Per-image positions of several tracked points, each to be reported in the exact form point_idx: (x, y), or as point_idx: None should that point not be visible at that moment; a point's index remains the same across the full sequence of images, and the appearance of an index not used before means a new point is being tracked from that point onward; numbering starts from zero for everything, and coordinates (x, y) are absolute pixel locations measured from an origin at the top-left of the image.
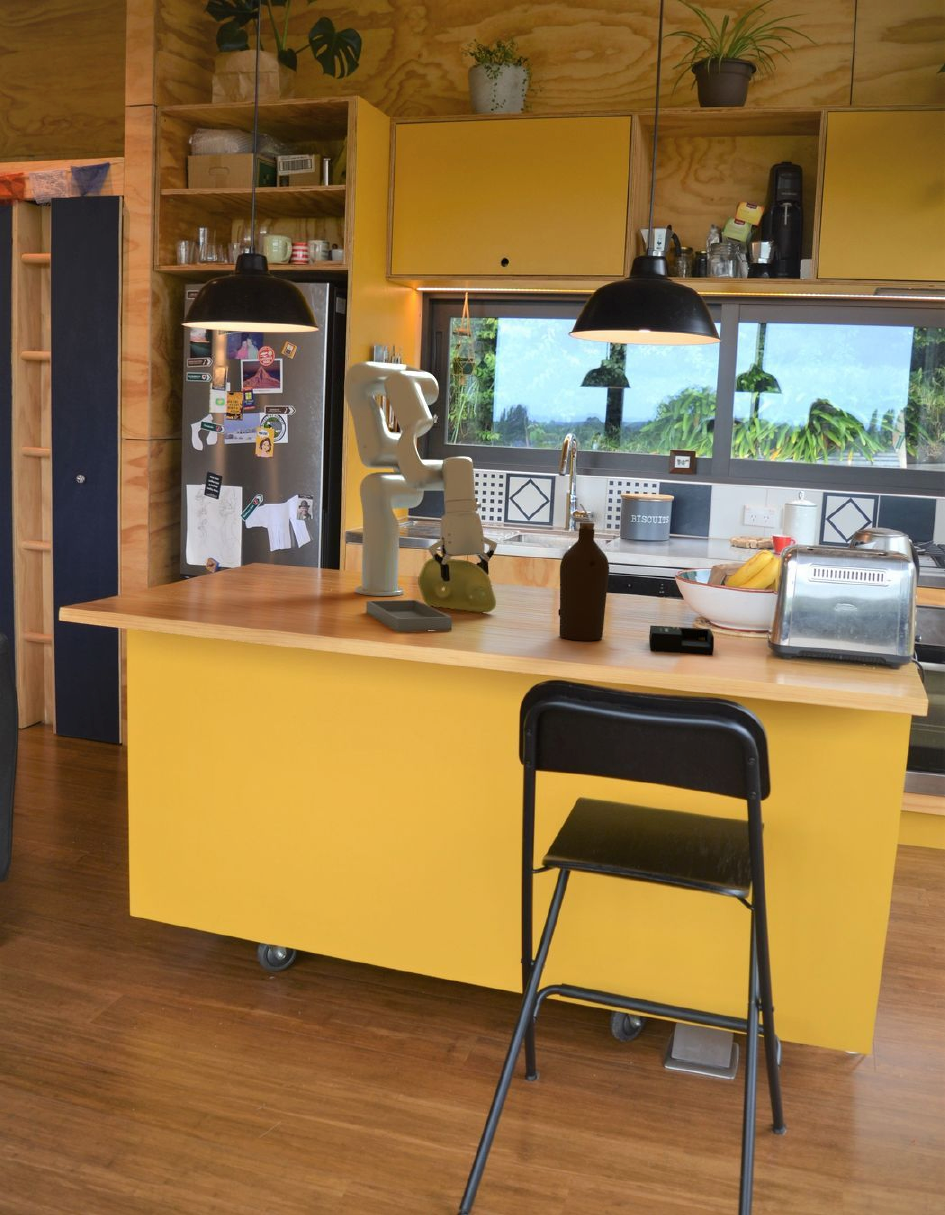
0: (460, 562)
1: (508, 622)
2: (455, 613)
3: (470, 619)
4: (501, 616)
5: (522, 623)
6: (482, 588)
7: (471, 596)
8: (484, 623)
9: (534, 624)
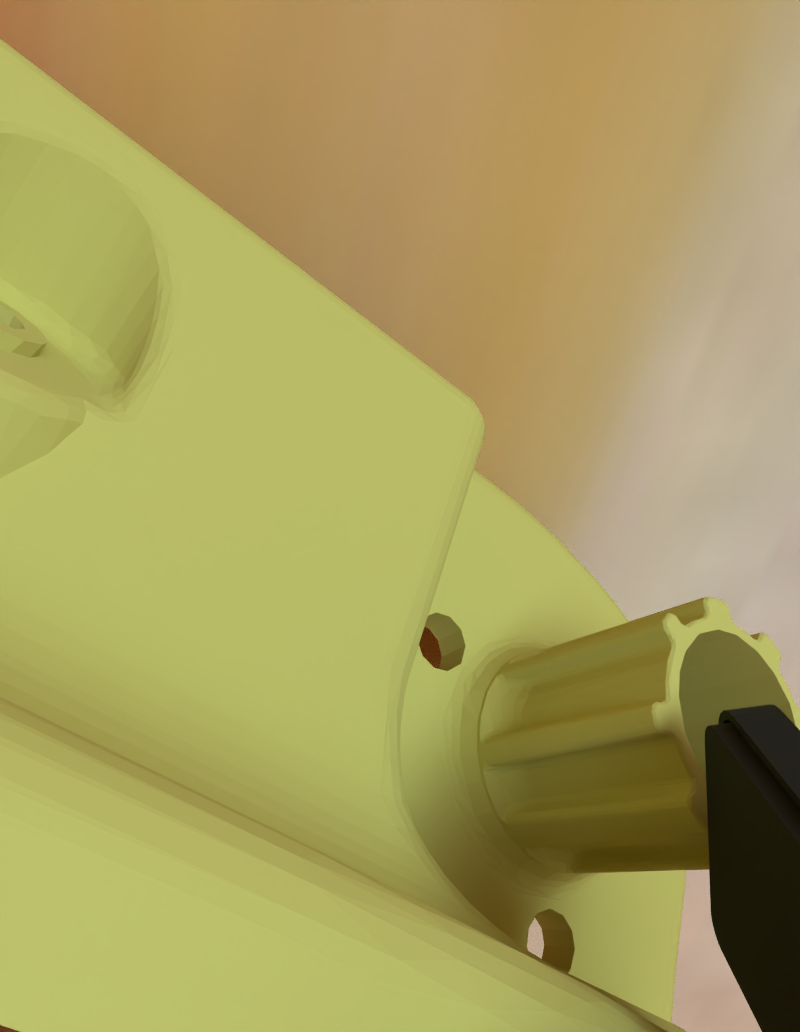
0: (193, 997)
1: None
2: None
3: None
4: None
5: (684, 995)
6: (548, 944)
7: (439, 613)
8: None
9: (754, 1016)
